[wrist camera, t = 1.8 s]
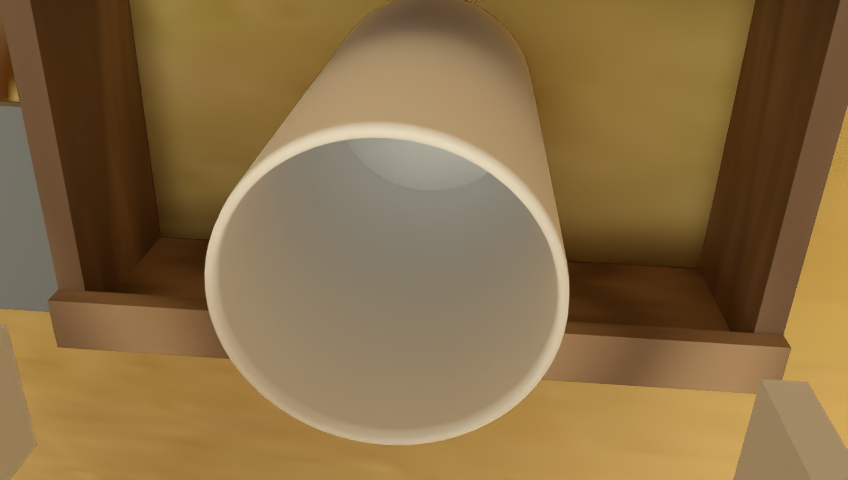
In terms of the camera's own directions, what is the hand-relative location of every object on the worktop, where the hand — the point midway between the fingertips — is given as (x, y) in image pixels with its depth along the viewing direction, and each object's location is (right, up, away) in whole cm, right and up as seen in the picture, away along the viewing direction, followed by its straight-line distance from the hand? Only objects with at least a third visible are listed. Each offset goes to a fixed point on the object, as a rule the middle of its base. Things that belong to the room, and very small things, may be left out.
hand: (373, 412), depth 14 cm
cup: (+1, +9, +18) cm, 20 cm away
